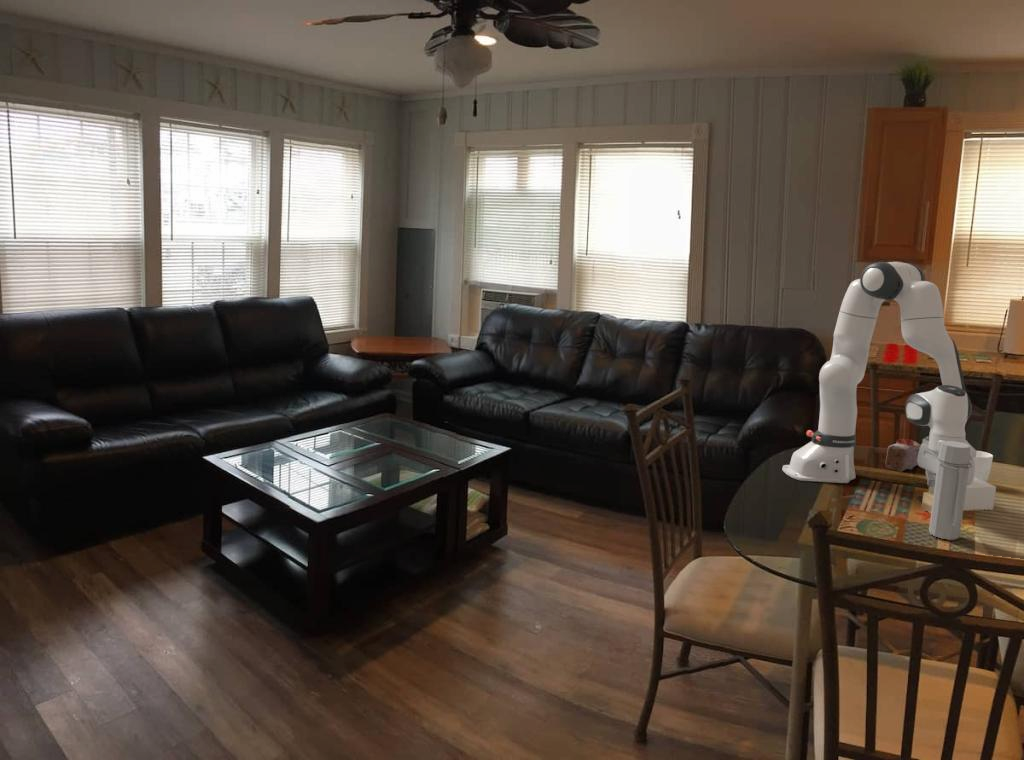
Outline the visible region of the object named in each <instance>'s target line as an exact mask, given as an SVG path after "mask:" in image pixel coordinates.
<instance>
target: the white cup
mask: <svg viewBox="0 0 1024 760" xmlns="http://www.w3.org/2000/svg"><path fill="white" fill-rule="evenodd" d="M976 452H977V454H976V457H973V459H974V462H975V471H974V477H975V478H977V479H979V480H981V481H984V482H986V483H988V480H989V478H990V474H991V473H990V472H991V469H992V463H993V458H994V455H993V454H991V453H989V452H986V451H982V450H976Z"/></svg>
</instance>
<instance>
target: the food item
mask: <svg viewBox="0 0 1024 760" xmlns="http://www.w3.org/2000/svg"><path fill="white" fill-rule="evenodd" d="M920 446H921V444H920V443H919V442H917V441H915V440H912V439H906V438H899V439H897V440H896V443H894V444H890V445H888V446H887V449H886V450H887V452H886V458H885V465H884V467H885V468H886V469H888V470H892V471H896V472H901V473H902V472H903V471H905V470H913V469H914V468H916V467H917V466H918V463H917V459H918V453H919V449H920Z"/></svg>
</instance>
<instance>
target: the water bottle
mask: <svg viewBox="0 0 1024 760" xmlns="http://www.w3.org/2000/svg"><path fill="white" fill-rule="evenodd" d="M970 445H971V444H970ZM970 445H968V444H965V443H961V442H956V441H943V442H942V443H941V447H940V451H939V455H938V458H937V461H938V465H937V473H936V474H935V475H936V481H935V488H934V496H933V503H932V511H931V514H930V521H929V527H928V531H929V534H930V535H931V536H932V535H933V536H932V537H934V536H935V537H934V538H936V537H938V538H937V539H939V538H941V539H940V540H942V539H947V540H946V541H955V540H957V539H959V538H960V535H961V529H962V523H963V522H962V521H963V515H964V514H963V513H964V510H963V509H964V501H965V494H966V487H967V480H968V473H969V469H971V468H972V465H971V463H970ZM969 465H970V467H968V466H969Z"/></svg>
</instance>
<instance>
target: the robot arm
mask: <svg viewBox="0 0 1024 760" xmlns="http://www.w3.org/2000/svg"><path fill="white" fill-rule="evenodd" d="M885 301H895V302H897V304H898V305H899V309H900V327H901V329H900V330H901V335H902V339H903V340H904V342H905V343H906V344H907V345H908V346H909V347H910V348H912V349H914V350H916V351H917V352H921V353H924V354H926V355H927V356H929V357H931V358H932V359H934V360H935V362H936V363H937V366H938V370H939V374H940V380H941V385H938V386H937V387H935V388H934V389H932V390H928V391H925V392H919V393H914V394H911V395H910V396H909V397H908V398H907V400H906V402H905V404H904V414H905V416H906V419H907V420H908V421H909V422H910V423H911V424H912V425H915V426H920V427H923V426H924V427H926V426H928V427H929V428H930V430H929V435H928V436H926V437H924V438H922V443H921V444H920V445H921V446H920V449H919V453H918V459H917V463H918V465H917V466H918V467H920V468H921V469H924V470H925V475H926V479H927V482H926V483H927V486H928V487H929V486H931V487H935V481H936V480H935V478H934V475H936V473H937V465H938V461H937V458H938V455H939V451H940V447H941V443H942V442H943V441H956V442H961V443H965V444H968V445H970V463H971V465H972V468H971V469H969V473H968V480H967V485H971V483H972V482H973V479H974V471H975V462H974V459H973V457H976V454H977V452H976V451H977V450H976V448H974V447H973V446H972V445H971V444H970V443H969V442H968V440H967V439H966V430H965V428H966V424H967V421H968V420H969V418H970V416H971V414H972V411H973V407H972V406H973V404H972V402H971V398H970V396H969V394H968V391H967V388H966V385H965V381H964V374H963V369H962V365H961V360H960V355H959V351H958V347H957V345H956V342H955V340H954V339H953V338H952V337H950V335H949V333H948V330H947V329H946V325H945V320H944V319H945V318H944V308H943V307H944V306H943V302H942V297H941V293H940V289H939V287H938V286H937V284H935V283H933V282H931V281H927V278H926V275H925V272H924V271H923V269H921V267H919V266H917V265H915V264H913V263H909V262H907V263H905V262H902V261H888V262H886V261H877V262H873V263H871V264H869V265H868V266H866V267H865V268H864V269H863V270H862V272H861V274H860V277H859V278H857V279H854V280H853V281H851V283H850V284H849V285H848V287H847V290H846V291H845V293H844V297H843V298H842V302H841V305H840V308H839V313H838V315H837V319H836V323H835V328H834V331H833V343H832V350H831V355H830V359H829V360H827V361H826V362H825V363H824V364H823V365H822V367H821V368H820V370H819V373H818V375H819V376H818V381H819V417H818V418H819V419H818V428H817V430H816V431H815V432H814V431H813V430H811V429H809V430H807V431H806V433H805V434H806V436H807V437H809V438H811V441H809V442H808V443H806V444H805V445H803V446H801V447H800V448H799V449H797V450H796V451H793V453H792V455H791V459H790V462H789V464H783V465H782V472H783V473H785V474H786V475H787V476H788V477H791V478H792V479H794V480H796V481H797V480H798V481H803V482H819V483H834V484H835V483H838V484H848V483H850V481H852V480H855V479H856V470H855V463H854V462H855V461H854V454H855V453H854V450H855V448H856V438H857V434H856V428H857V427H856V426H857V417H858V406H857V387H858V384H861V382H862V380H863V379H864V377H865V374H866V373H865V372H866V369H867V364H868V359H869V353H870V347H871V341H872V338H873V335H874V332H875V327H876V323H877V320H878V317H879V313H880V309H881V307H882V304H883V303H884V302H885ZM968 467H970V465H969V466H968Z"/></svg>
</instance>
